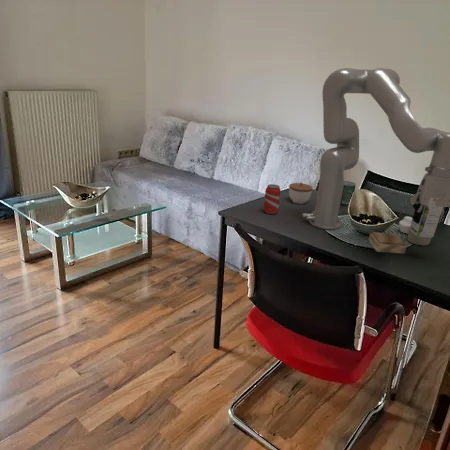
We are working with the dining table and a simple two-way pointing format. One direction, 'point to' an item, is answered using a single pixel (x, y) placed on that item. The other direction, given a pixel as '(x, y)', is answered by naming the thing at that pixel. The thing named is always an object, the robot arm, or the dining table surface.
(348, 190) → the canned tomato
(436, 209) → the syrup box
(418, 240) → the travel mug
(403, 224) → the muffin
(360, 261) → the dining table surface
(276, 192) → the beverage can
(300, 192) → the lidded jar
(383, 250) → the base
